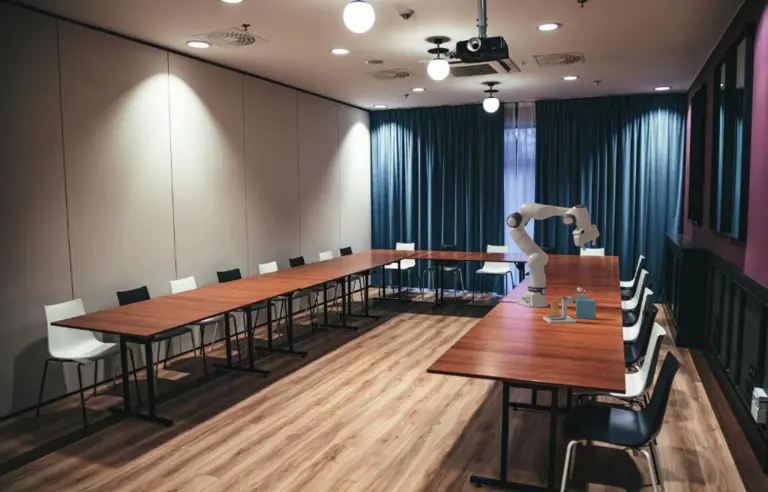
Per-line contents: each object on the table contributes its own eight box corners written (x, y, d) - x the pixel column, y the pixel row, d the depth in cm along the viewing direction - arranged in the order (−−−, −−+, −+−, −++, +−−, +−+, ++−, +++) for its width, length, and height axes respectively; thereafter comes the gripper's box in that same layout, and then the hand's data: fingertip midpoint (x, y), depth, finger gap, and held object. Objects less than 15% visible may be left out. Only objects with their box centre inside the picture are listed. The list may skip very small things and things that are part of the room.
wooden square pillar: (552, 316, 370) (552, 301, 369) (550, 314, 374) (550, 300, 373) (558, 316, 370) (558, 301, 369) (556, 314, 374) (556, 300, 373)
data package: (595, 317, 363) (595, 299, 362) (595, 319, 359) (596, 300, 358) (575, 316, 367) (576, 298, 366) (576, 318, 363) (576, 300, 361)
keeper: (549, 323, 349) (550, 299, 348) (542, 318, 362) (543, 295, 361) (576, 322, 350) (576, 298, 349) (568, 318, 363) (568, 294, 362)
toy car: (574, 286, 427) (590, 287, 423) (574, 299, 428) (590, 300, 424) (573, 290, 411) (589, 291, 406) (572, 303, 412) (589, 304, 407)
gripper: (591, 223, 378) (596, 242, 381) (570, 233, 370) (575, 252, 372) (598, 223, 373) (603, 242, 375) (577, 233, 364) (582, 253, 367)
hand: (589, 247), depth 374 cm, fingers open, 8 cm apart
